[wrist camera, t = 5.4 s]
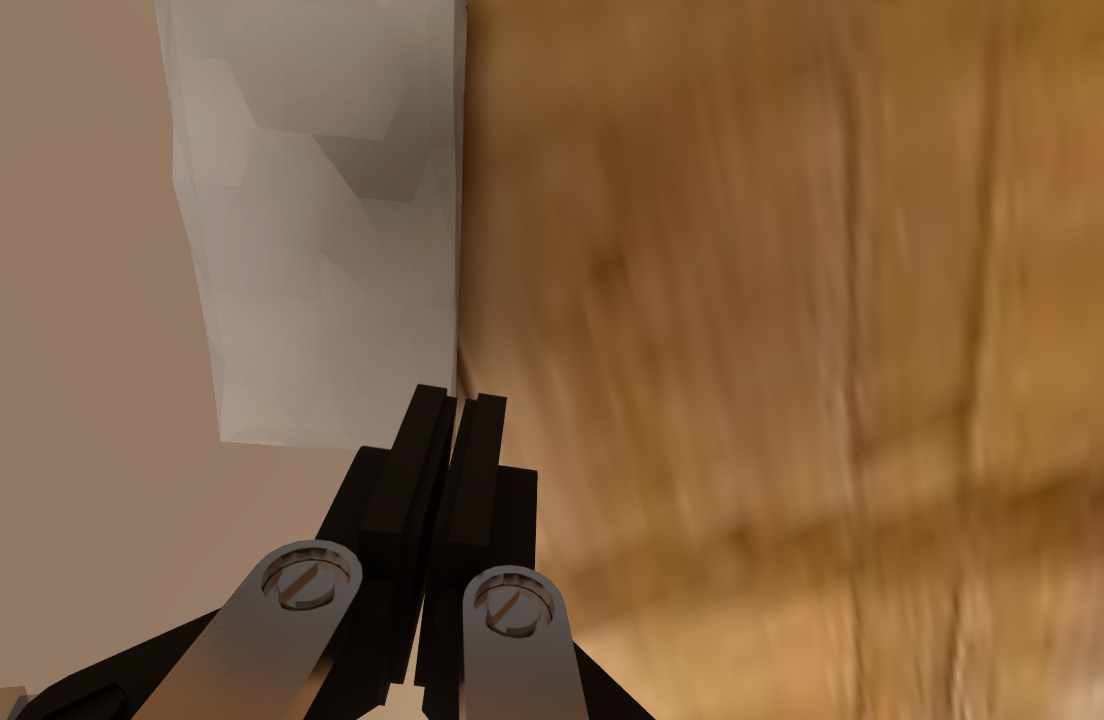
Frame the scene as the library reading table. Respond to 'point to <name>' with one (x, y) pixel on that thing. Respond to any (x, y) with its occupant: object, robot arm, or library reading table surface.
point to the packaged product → (320, 206)
